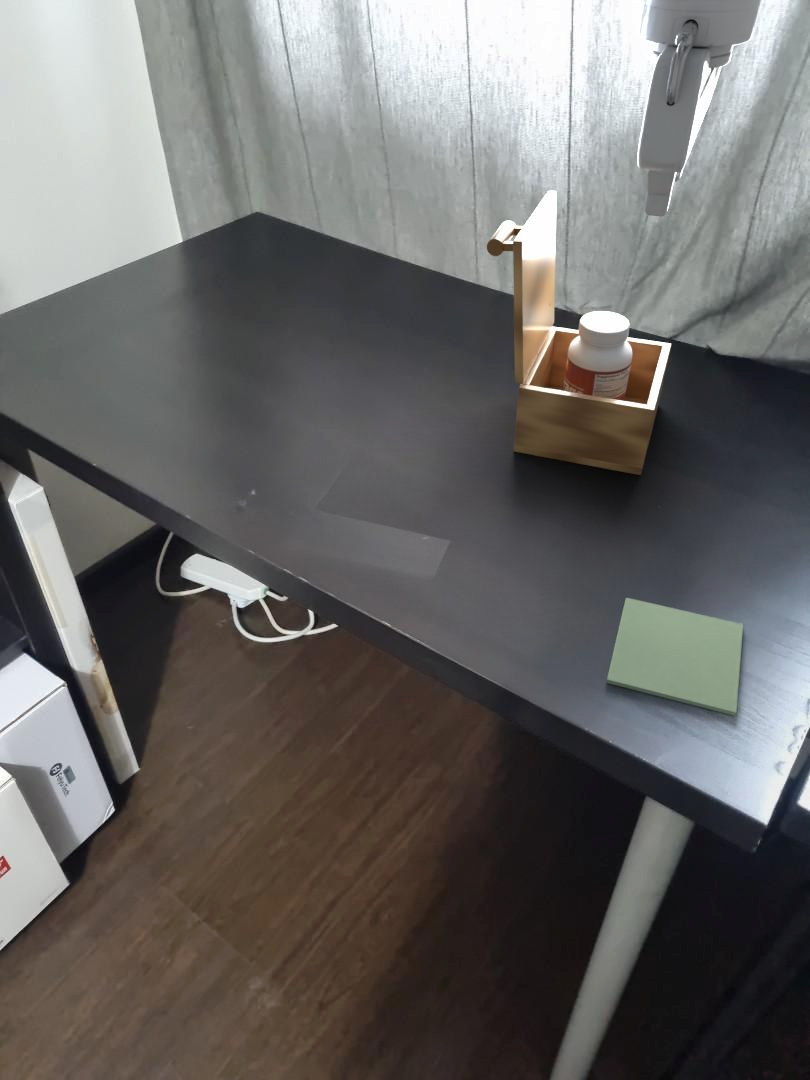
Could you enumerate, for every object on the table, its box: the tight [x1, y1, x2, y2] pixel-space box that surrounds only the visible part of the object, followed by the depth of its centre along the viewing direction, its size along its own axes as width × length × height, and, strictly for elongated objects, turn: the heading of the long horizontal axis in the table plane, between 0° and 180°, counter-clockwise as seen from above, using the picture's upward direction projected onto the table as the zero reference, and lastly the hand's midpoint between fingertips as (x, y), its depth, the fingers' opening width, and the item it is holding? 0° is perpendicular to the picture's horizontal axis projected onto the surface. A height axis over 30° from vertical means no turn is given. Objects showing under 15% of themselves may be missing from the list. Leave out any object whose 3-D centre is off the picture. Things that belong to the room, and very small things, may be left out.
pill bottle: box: [563, 310, 632, 401], centre depth 82 cm, size 6×6×11 cm
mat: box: [606, 597, 744, 717], centre depth 62 cm, size 9×9×1 cm
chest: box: [513, 326, 672, 476], centre depth 84 cm, size 13×14×7 cm
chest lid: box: [486, 190, 557, 384], centre depth 79 cm, size 13×14×4 cm
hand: (663, 195), depth 73 cm, fingers open, 8 cm apart
